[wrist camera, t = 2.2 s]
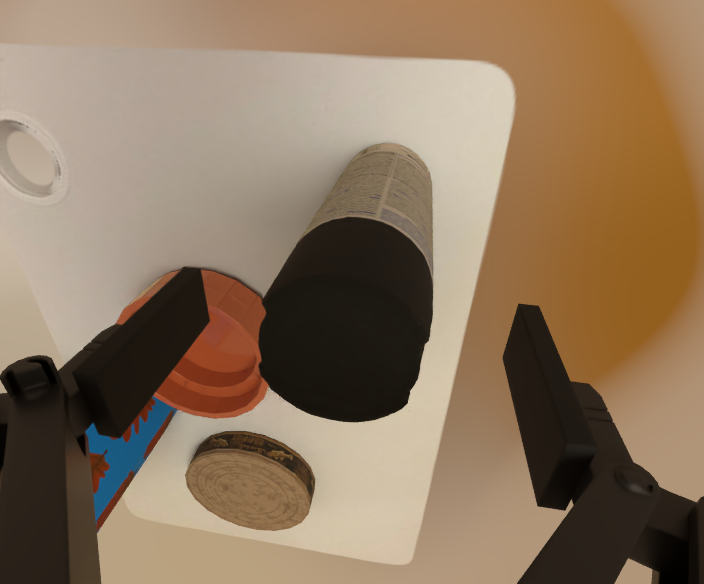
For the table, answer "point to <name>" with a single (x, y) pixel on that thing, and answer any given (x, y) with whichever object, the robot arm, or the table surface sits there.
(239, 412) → the dish
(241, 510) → the brown round disc
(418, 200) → the spray can
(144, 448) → the thermos
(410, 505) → the table surface
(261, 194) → the table surface
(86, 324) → the table surface
